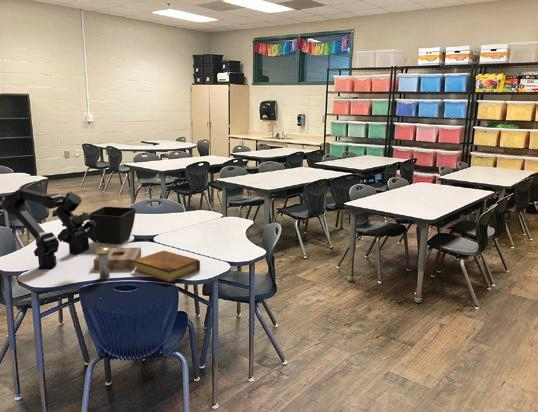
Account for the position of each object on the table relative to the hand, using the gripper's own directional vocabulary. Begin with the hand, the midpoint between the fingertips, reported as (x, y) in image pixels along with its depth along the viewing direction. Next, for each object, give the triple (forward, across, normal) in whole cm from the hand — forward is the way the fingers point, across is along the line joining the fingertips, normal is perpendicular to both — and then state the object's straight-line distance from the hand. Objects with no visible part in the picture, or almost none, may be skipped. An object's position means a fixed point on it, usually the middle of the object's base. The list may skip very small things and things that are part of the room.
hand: (89, 245), depth 200 cm
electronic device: (-10, +23, +29) cm, 39 cm away
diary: (+30, +17, -10) cm, 36 cm away
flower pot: (-7, +46, +27) cm, 54 cm away
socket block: (+10, +18, +9) cm, 22 cm away
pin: (+15, 0, +4) cm, 15 cm away
